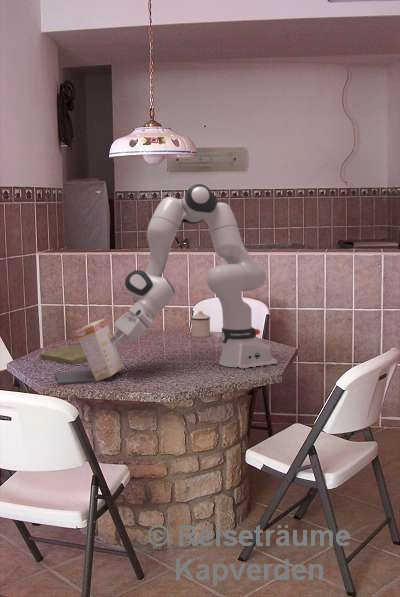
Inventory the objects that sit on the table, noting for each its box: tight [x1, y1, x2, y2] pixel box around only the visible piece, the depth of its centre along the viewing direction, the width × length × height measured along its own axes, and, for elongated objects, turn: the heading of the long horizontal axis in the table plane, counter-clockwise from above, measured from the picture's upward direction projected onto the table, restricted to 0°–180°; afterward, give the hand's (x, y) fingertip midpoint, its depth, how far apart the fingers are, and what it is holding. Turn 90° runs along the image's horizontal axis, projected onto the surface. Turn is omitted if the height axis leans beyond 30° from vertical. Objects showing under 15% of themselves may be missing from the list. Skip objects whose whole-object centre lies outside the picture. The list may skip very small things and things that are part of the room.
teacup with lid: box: [184, 310, 211, 338], centre depth 347 cm, size 12×9×12 cm
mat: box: [54, 369, 97, 386], centre depth 267 cm, size 13×16×1 cm
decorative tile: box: [39, 345, 88, 366], centre depth 302 cm, size 19×20×4 cm
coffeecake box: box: [75, 318, 125, 382], centre depth 268 cm, size 15×7×20 cm, turn 169°
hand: (114, 342), depth 269 cm, fingers open, 4 cm apart
